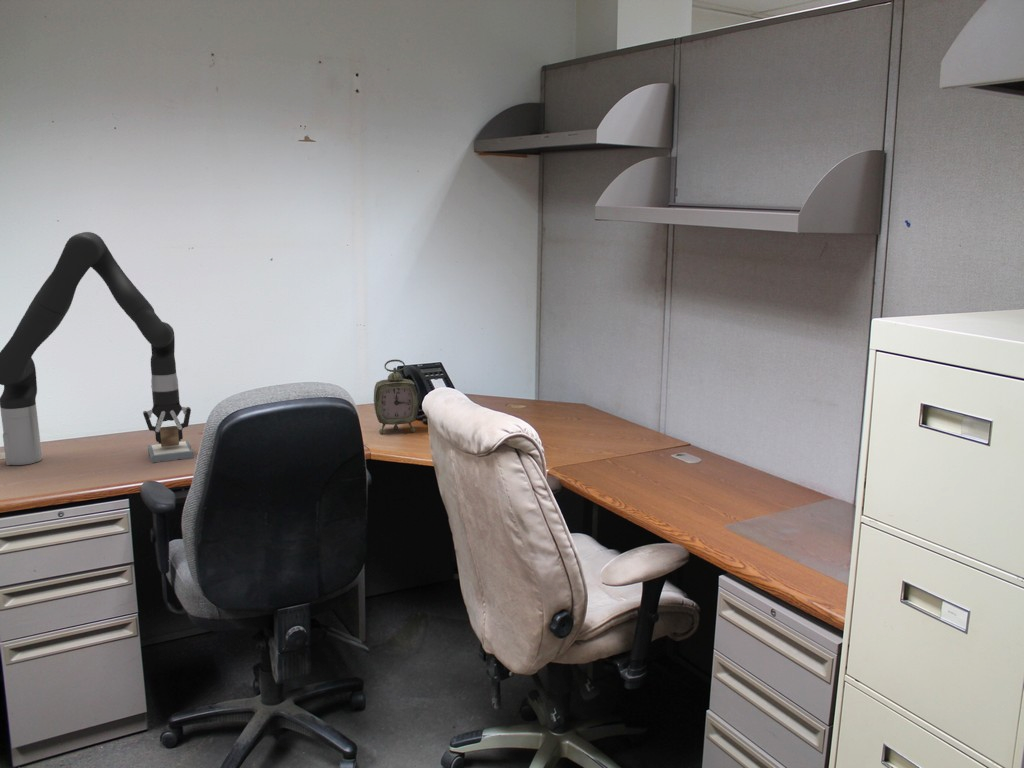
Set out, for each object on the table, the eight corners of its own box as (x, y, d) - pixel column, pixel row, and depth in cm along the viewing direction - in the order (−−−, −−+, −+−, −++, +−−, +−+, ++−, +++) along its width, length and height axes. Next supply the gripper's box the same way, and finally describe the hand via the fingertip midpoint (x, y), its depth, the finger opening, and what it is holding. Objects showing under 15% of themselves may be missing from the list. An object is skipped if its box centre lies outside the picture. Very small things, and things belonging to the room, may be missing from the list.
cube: (161, 446, 256) (160, 431, 255) (160, 443, 261) (159, 427, 260) (179, 444, 258) (177, 429, 257) (177, 441, 263) (176, 425, 262)
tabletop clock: (376, 435, 283) (373, 362, 277) (374, 429, 291) (371, 358, 286) (419, 433, 286) (417, 360, 281) (415, 426, 294) (414, 356, 289)
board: (151, 463, 251) (150, 455, 251) (148, 451, 264) (147, 444, 263) (194, 457, 257) (193, 450, 256) (188, 446, 269) (188, 440, 269)
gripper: (140, 392, 250) (145, 447, 253) (191, 388, 256) (195, 442, 259) (138, 388, 256) (143, 441, 260) (188, 383, 262) (192, 436, 266)
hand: (169, 441), depth 259 cm, fingers closed on cube, 5 cm apart
